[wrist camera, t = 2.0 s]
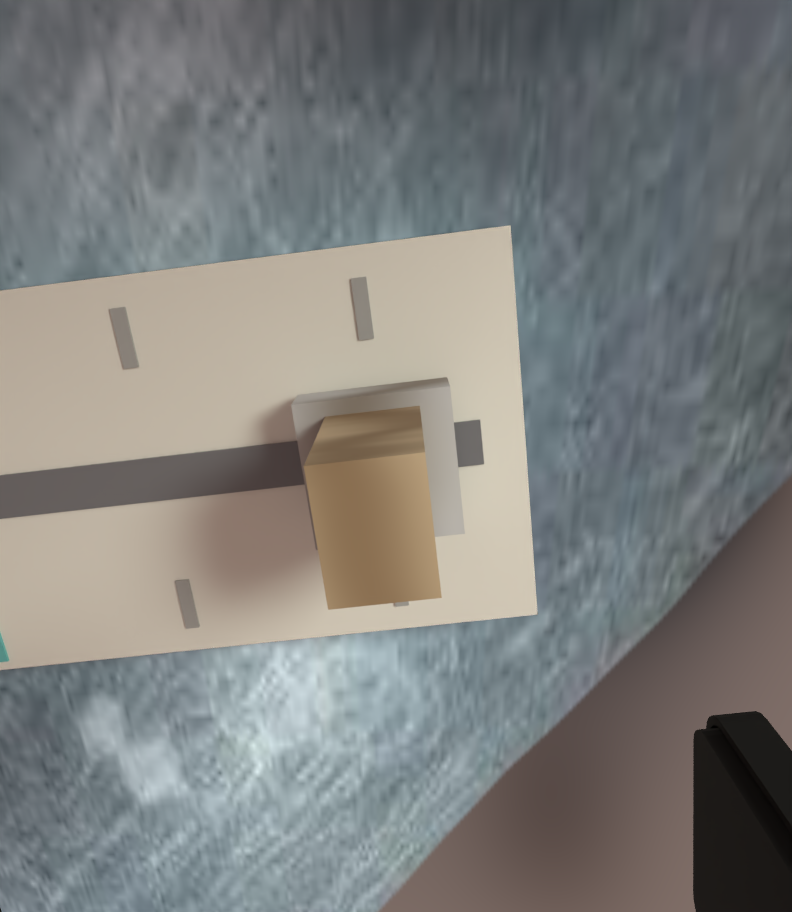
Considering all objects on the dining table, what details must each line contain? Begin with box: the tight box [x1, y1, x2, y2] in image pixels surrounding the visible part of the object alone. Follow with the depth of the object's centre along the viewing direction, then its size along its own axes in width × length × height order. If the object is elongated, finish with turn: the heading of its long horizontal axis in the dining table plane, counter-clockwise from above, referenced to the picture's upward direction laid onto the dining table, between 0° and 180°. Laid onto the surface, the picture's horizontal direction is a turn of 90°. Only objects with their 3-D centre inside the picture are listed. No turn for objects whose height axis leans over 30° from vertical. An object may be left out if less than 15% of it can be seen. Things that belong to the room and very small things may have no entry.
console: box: [0, 226, 537, 670], centre depth 26 cm, size 26×14×3 cm, turn 97°
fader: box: [291, 377, 465, 610], centre depth 21 cm, size 5×5×6 cm
